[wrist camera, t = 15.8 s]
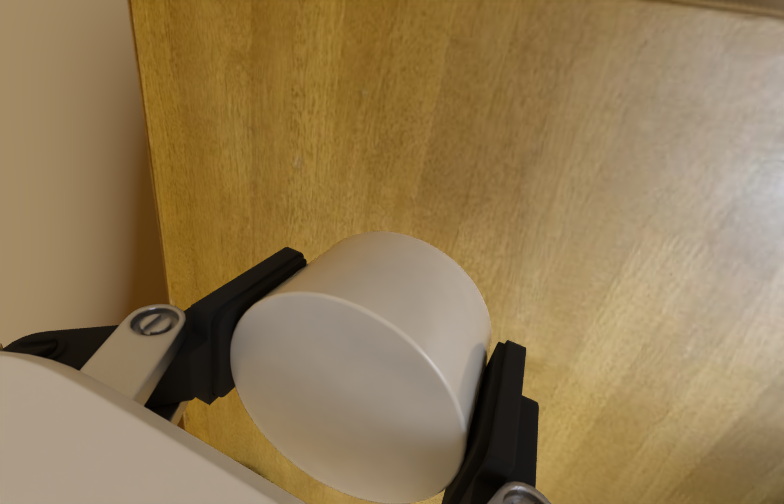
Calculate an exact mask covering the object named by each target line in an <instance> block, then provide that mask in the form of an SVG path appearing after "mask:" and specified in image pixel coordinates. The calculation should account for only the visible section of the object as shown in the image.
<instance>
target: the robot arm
mask: <svg viewBox="0 0 784 504" xmlns="http://www.w3.org/2000/svg"><path fill="white" fill-rule="evenodd" d="M306 264H307V261H306V259H304V256H303V254H302V253H301V252H298V251H296V250H294V249H291V248H289V247H285V248H283V249H282V250H280V251H279V252H277V253H275V254H274V255H272V256H270V257H269V258H267V259H266V260H264V261H262V262H261V263H259V264H257V265H256V266H254V267H253V268H251V269H249V270H248V271H246V272H244V273H243V274H241V275H240V276H238V277H236V278H235V279H233V280H232V281H230V282H228V283H227V284H225V285H223V286H222V287H220V288H219V289H217V290H215V291H214V292H212V293H210V294H209V295H207V296H206V297H204V298H202V299H201V300H199V301H198V302H196V303H194V304H193V305H191V307H190V308H188V309H187V310H185V311H182V310H181V309H179V308H178V307H176V306H172V305H168V304H156V305H149V306H146V307H142V308H140V309H138V310H136V311H134V312H132V313H131V314H130V315H129V316H127V317H126V319H125V320H124V321H123V322H122V323H121V324H120V325H115V326H104V327H92V328H80V329H69V330H57V331H46V332H40V333H35V334H31V335H28V336H25V337H22V338H20V339H18V340H16V341H14V342H12V343H11V344H9V345H8V346H6V347H5V348H3V346H2V344H0V504H307V503H305V502H303V501H302V500H300V499H298V498H297V497H295V496H293V495H292V494H290V493H288V492H287V491H285V490H283V489H282V488H280V487H278V486H277V485H275V484H273V483H272V482H270V481H268V480H267V479H265V478H263V477H262V476H260V475H258V474H257V473H255V472H253V471H252V470H250V469H248V468H247V467H245V466H243V465H242V464H240V463H238V462H237V461H235V460H233V459H231V458H230V457H228V456H226V455H225V454H223V453H221V452H220V451H218V450H216V449H215V448H213V447H211V446H210V445H208V444H206V443H205V442H203V441H201V440H200V439H198V438H196V437H195V436H193V435H191V434H189V433H188V432H186V431H184V430H183V429H181V428H179V427H178V426H177V424H178V422H179V420H180V418H181V416H182V414H183V412H184V410H185V408H186V406H187V404H188V402H189V401H190V400H193V399H194V398H195V397H196V398H198V399H200V400H202V401H203V402H205V403H207V404H209V405H210V404H211V403H212V402H213V401H214V400H216V399H217V398H218V397H224V396H226V395H227V394H228V393H229V392H230V391H231V390H232V389H233V388H234V387H235V384H234V381H233V377H232V372H231V367H230V345H231V339H232V336H233V332H234V330H235V328H236V326H237V324H238V321H239V320H240V318H241V317H242V316H243V314H244V313H245V312H246V311H247V310H248V309H249V308H250V307H251V306H252V305H253V304H255V303H256V302H257V301H259V300H260V299H261V298H263V297H264V296H265V295H267V294H268V293H269V292H271V291H272V290H274V289H275V288H276V287H278V286H279V285H280V284H282V283H283V282H284V281H286V280H287V279H288V278H290V277H291V276H292V275H294V274H295V273H296V272H298V271H299V270H300V269H302V268H303V267H305V266H306ZM525 357H526V347H523V346H521V345H518V344H516V343H514V342H511V341H509V340H507V341H506V343H505V344H504V343H501V342H498V344H497V346H496V348H495V350H494V352H493V354H492V356H491V358H490V360H489V362H488V364H487V366H486V370H485V374H484V378H483V383H482V387H481V391H480V395H479V400H478V404H477V408H476V413H475V417H474V421H473V426H472V430H471V434H470V439H469V443H468V447H467V452H466V456H465V460H464V462H463V465H462V467H461V469H460V471H459V473H458V475H457V476H456V478H455V479H454V480H453V482H452V483H451V484H450V485H449V486H447V487H446V489H445V493H444V497H443V500H442V504H551V503H550V502H549V501H548V499H547V498H546V497H545V496H544V495H543V494H542V493H540V492H539V491H538V490H537V489H535V486H536V462H537V438H538V414H539V405H538V403H537V402H536V401H534V400H531V399H529V398H527V397H525V396H523V395H522V387H523V377H524V367H525Z"/></svg>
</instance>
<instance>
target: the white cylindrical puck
mask: <svg viewBox="0 0 784 504" xmlns="http://www.w3.org/2000/svg"><path fill="white" fill-rule="evenodd" d="M491 335H492V330H491V323H490V317H489V314H488V310H487V307H486V304H485V302H484V300H483V298H482V295H481V293H480V292H479V290H478V289H477V287H476V285H475V284H474V282H473V281H472V279H471V278H470V277H469V276H468V274H467V273H466V272H465V271H464V270H463V269H462V268H461V267H460V266H459V265H458V264H457V263H456V262H455V261H454V260H453V259H452V258H450V257H449V256H448V255H446V254H445V253H444V252H442V251H441V250H439V249H437V248H436V247H434V246H432V245H431V244H429V243H427V242H424V241H422V240H420V239H418V238H415V237H412V236H408V235H405V234H400V233H395V232H387V231H372V232H363V233H359V234H355V235H352V236H349V237H347V238H344V239H342V240H341V241H339V242H337V243H336V244H334V245H333V246H331V247H330V248H329V249H327V250H326V251H325V252H323V253H322V254H321V255H319V256H318V257H317V258H315V259H314V260H313V261H311V262H310V263H309V264H307V265H306V266H305V267H303V268H302V269H300V270H299V271H298V272H296V273H295V274H294V275H292V276H291V277H290V278H288V279H287V280H286V281H284V282H283V283H282V284H280V285H279V286H278V287H276V288H275V289H274V290H272V291H271V292H269V293H268V294H267V295H265V296H264V297H263V298H261V299H260V300H259V301H257V302H256V303H255V304H253V305H252V306H251V307H250V308H249V309H248V310H247V311H246V312H245V313H244V314H243V316H242V317H241V318H240V320H239V321H238V324H237V326H236V328H235V330H234V332H233V336H232V339H231V345H230V367H231V372H232V377H233V381H234V384H235V387H236V390H237V392H238V395H239V397H240V399H241V402H242V403H243V405H244V407H245V409H246V411H247V413H248V414H249V416H250V417H251V419H252V420H253V422H254V423H255V425H256V426H257V427H258V429H259V430H260V431H261V433H262V434H263V435H264V436H265V437H266V438H267V440H268V441H269V442H270V443H271V444H272V445H273V446H274V447H275V448H276V449H277V450H278V451H279V452H280V453H281V454H282V455H283V456H284V457H285V458H287V459H288V460H289V461H290V462H291V463H293V464H294V465H295V466H296V467H298V468H299V469H301V470H302V471H303V472H305V473H306V474H308V475H309V476H311V477H312V478H314V479H316V480H317V481H319V482H321V483H323V484H325V485H326V486H328V487H330V488H332V489H335V490H337V491H339V492H341V493H344V494H346V495H349V496H352V497H355V498H358V499H362V500H366V501H370V502H375V503H382V504H411V503H415V502H420V501H423V500H426V499H429V498H431V497H434V496H435V495H437V494H438V493H440V492H442V491H443V490H444V489H445V488H446V487H447V486H449V485H450V484H451V483H452V482H453V480H454V479H455V478H456V476H457V475H458V473H459V471H460V469H461V467H462V465H463V462H464V460H465V456H466V452H467V447H468V443H469V439H470V434H471V430H472V426H473V421H474V417H475V413H476V408H477V404H478V400H479V395H480V391H481V387H482V383H483V378H484V374H485V370H486V365H487V361H488V357H489V352H490V347H491Z"/></svg>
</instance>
